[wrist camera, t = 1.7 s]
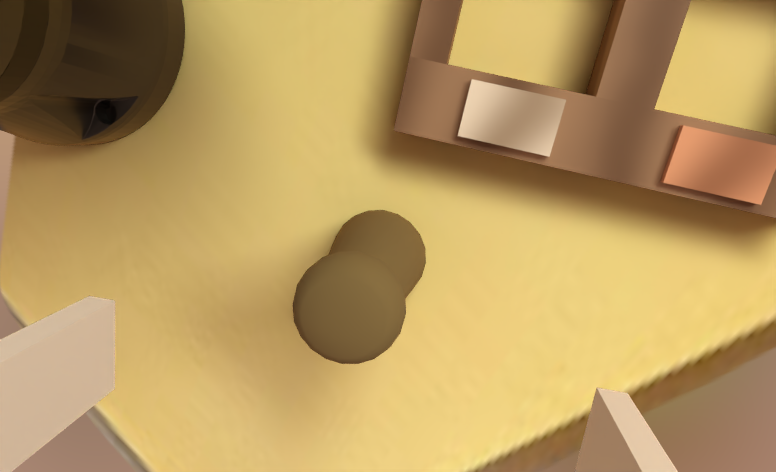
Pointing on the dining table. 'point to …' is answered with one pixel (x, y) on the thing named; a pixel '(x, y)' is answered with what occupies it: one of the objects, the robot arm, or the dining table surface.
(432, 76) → the caddy
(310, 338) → the cork
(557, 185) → the dining table surface
